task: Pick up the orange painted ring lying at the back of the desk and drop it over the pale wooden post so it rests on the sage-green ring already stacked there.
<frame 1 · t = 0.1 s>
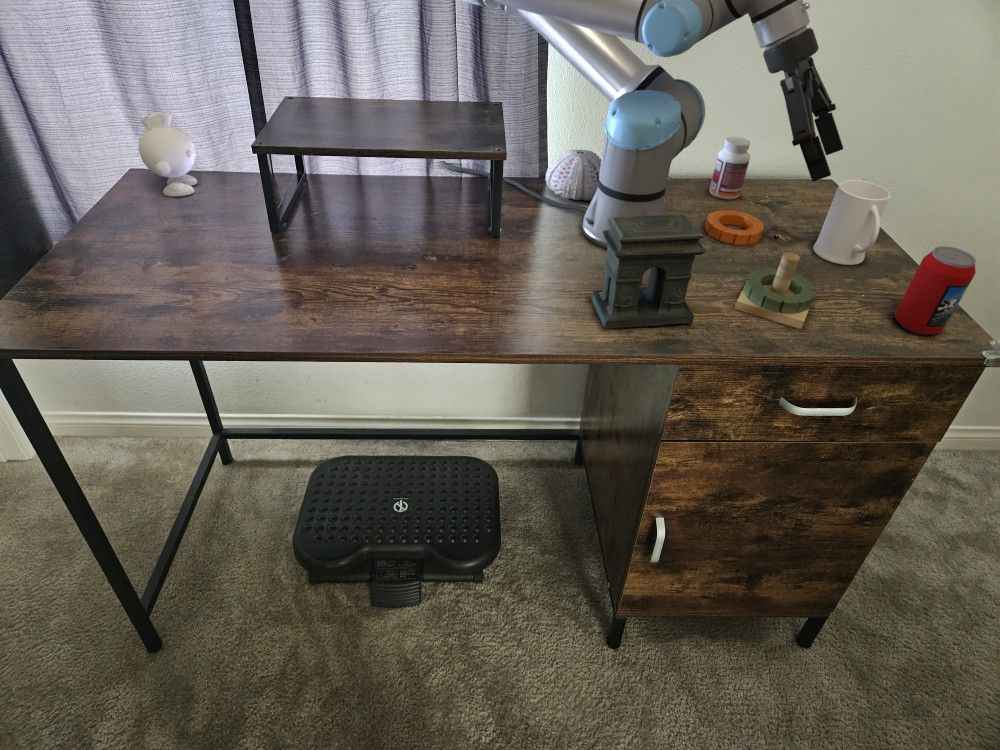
hand: (828, 164, 107), 15 cm above the table, tool tilted 35°, fingers open, 13 cm apart
diorama: (779, 239, 120), on the table
white cartoon figurine: (179, 191, 126), on the table
stacker: (774, 303, 102), on the table
orange ring: (732, 231, 120), on the table
beverage can: (915, 326, 99), on the table
mug: (841, 258, 114), on the table
pill bottle: (723, 195, 134), on the table
sea urchin shell: (576, 191, 132), on the table
model: (639, 313, 99), on the table
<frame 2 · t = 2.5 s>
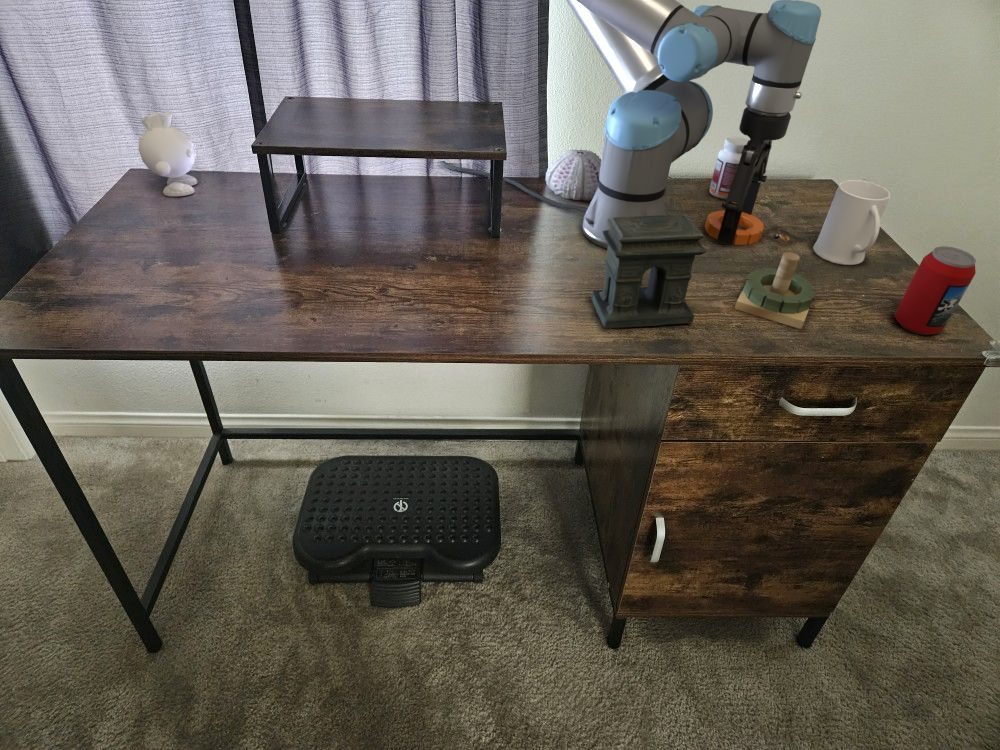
hand: (734, 228, 120), 1 cm above the table, tool pointing down, fingers open, 13 cm apart
nothing on the table moved.
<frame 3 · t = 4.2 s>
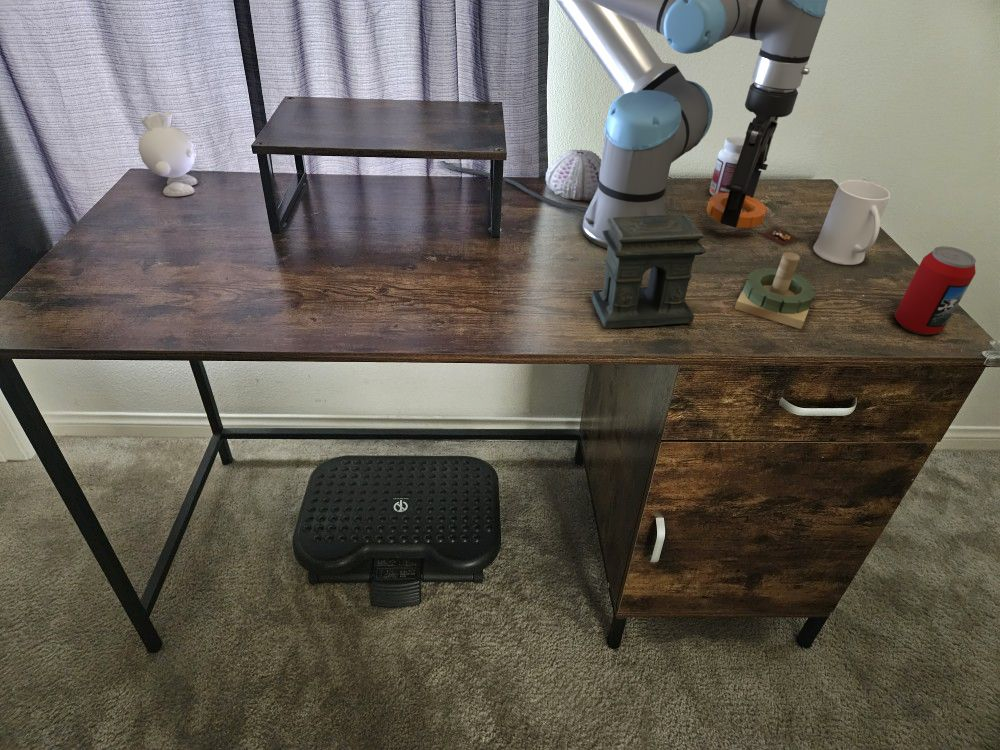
hand: (736, 213, 118), 4 cm above the table, tool pointing down, fingers closed on orange ring, 10 cm apart
orange ring: (735, 214, 119), point 3 cm above the table, touching gripper
everything else where it was.
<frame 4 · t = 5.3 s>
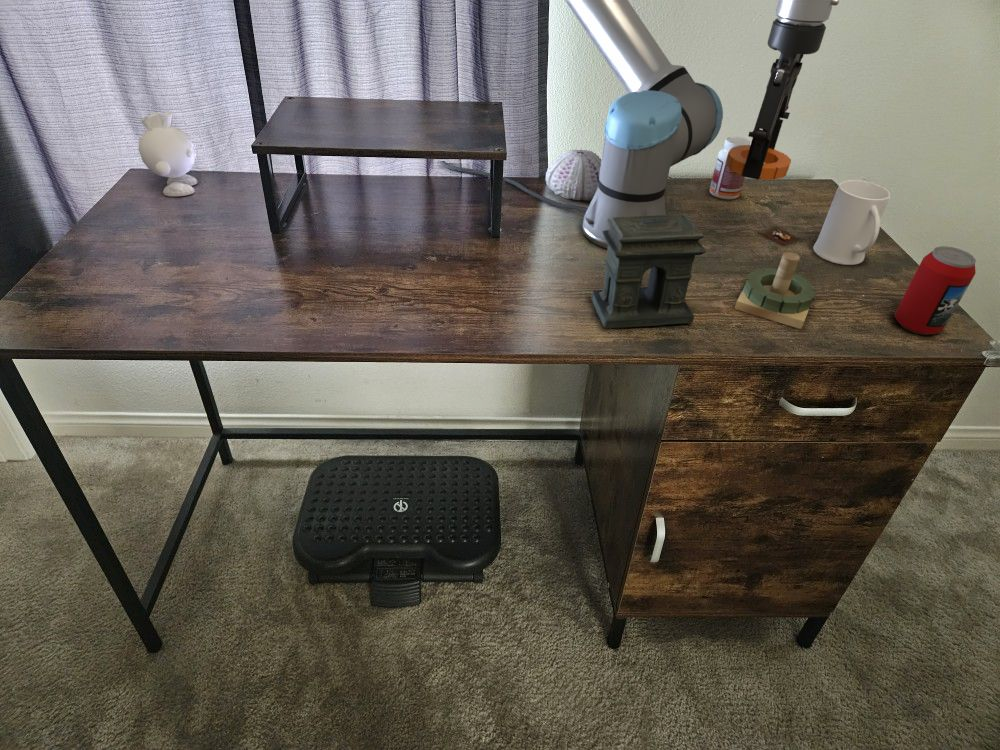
hand: (757, 166, 110), 13 cm above the table, tool pointing down, fingers closed on orange ring, 10 cm apart
orange ring: (756, 167, 110), point 13 cm above the table, touching gripper
everything else where it was.
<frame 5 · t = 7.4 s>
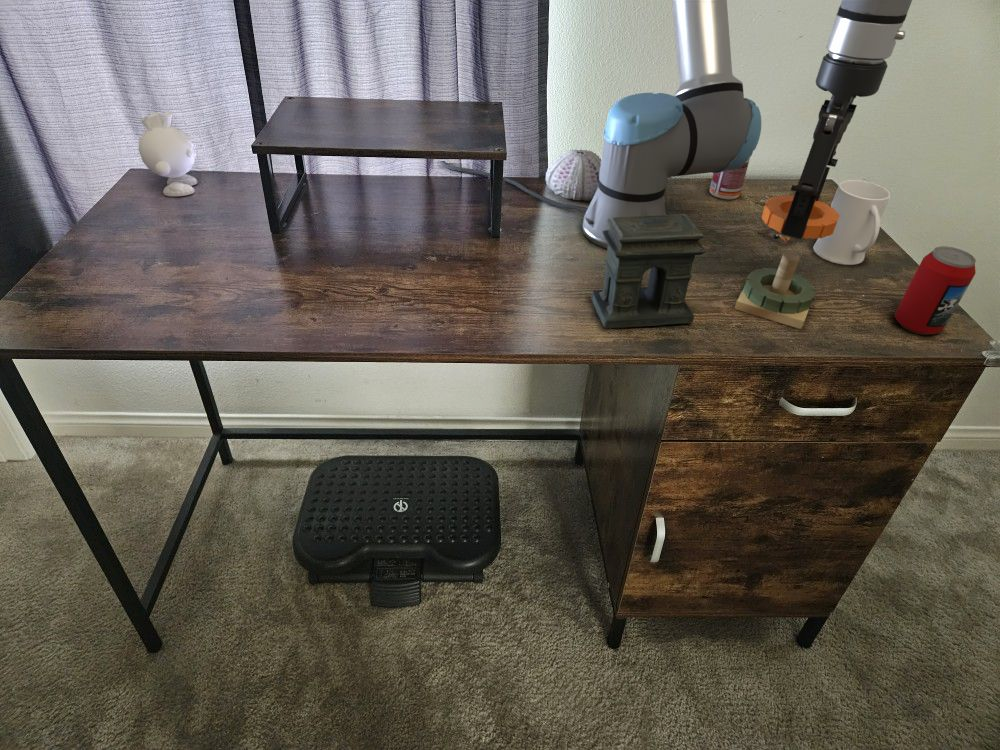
hand: (798, 221, 95), 13 cm above the table, tool pointing down, fingers closed on orange ring, 10 cm apart
orange ring: (797, 222, 95), point 13 cm above the table, touching gripper
everything else where it was.
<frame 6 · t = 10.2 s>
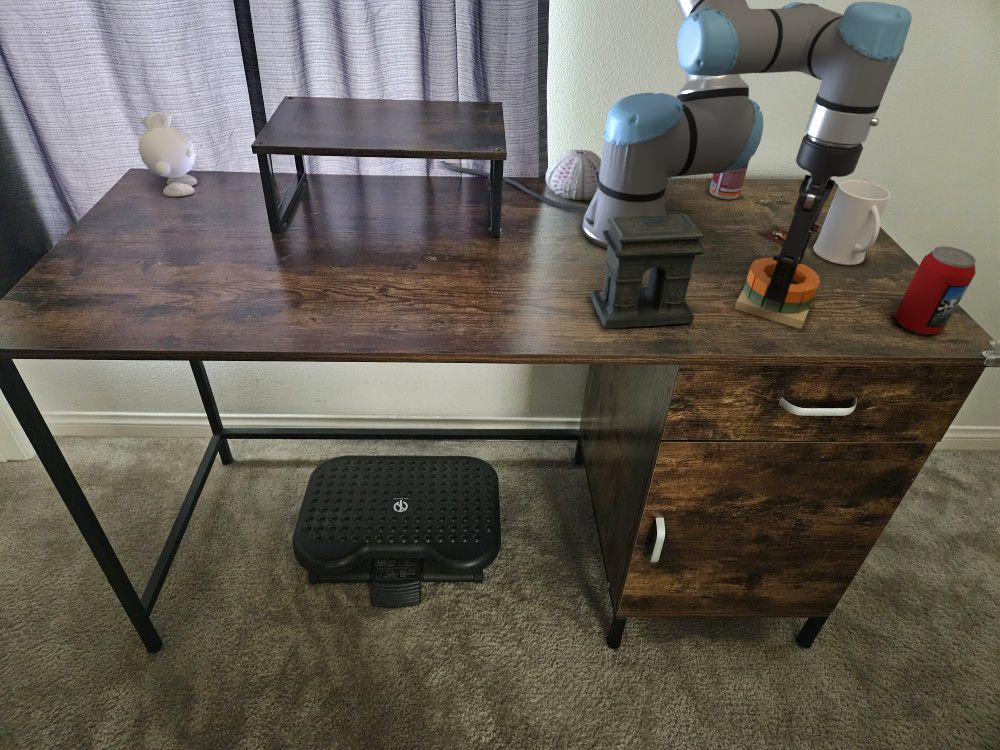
hand: (781, 283, 99), 4 cm above the table, tool pointing down, fingers closed on orange ring, 10 cm apart
orange ring: (780, 284, 100), point 4 cm above the table, touching gripper
everything else where it was.
when the fingers open (5 cm above the table, at t = 17.8 s): orange ring stays where it is, resting on stacker.
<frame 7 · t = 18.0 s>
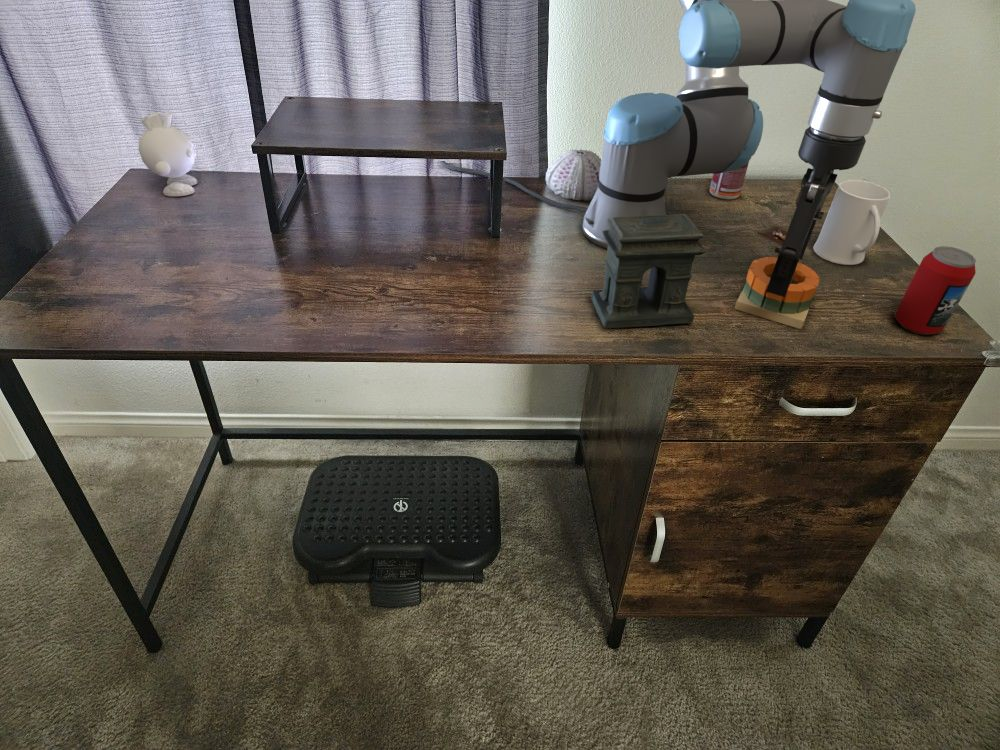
hand: (784, 274, 98), 5 cm above the table, tool pointing down, fingers open, 12 cm apart
orange ring: (780, 284, 100), point 3 cm above the table, touching stacker
everything else where it was.
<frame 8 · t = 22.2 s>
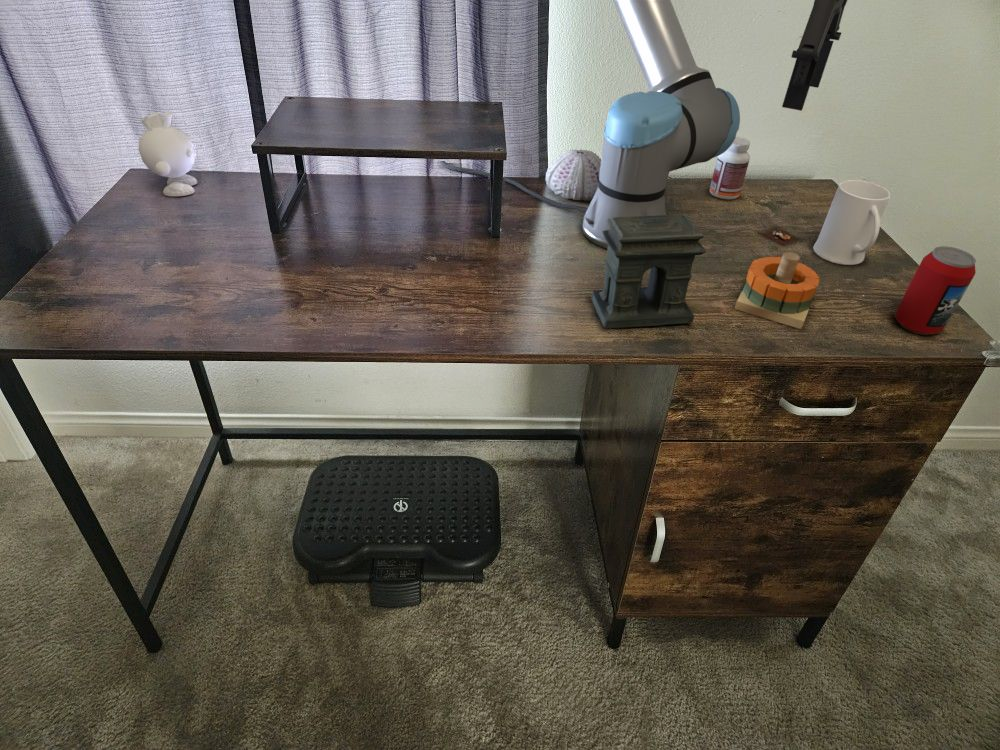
hand: (800, 96, 97), 27 cm above the table, tool pointing down, fingers open, 13 cm apart
nothing on the table moved.
at the end: orange ring 0.1 cm off-centre on the stacker, point 3.5 cm above the stacker's base; orange ring tilted 0° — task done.
